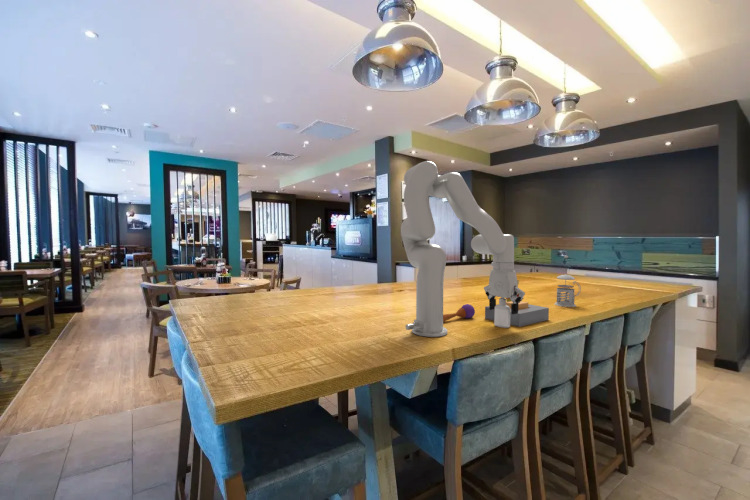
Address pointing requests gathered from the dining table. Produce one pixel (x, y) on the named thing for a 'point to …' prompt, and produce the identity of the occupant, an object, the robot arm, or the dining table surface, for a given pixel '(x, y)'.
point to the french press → (566, 289)
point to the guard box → (523, 315)
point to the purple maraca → (461, 313)
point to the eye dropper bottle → (502, 314)
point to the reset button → (520, 305)
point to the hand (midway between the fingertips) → (503, 311)
